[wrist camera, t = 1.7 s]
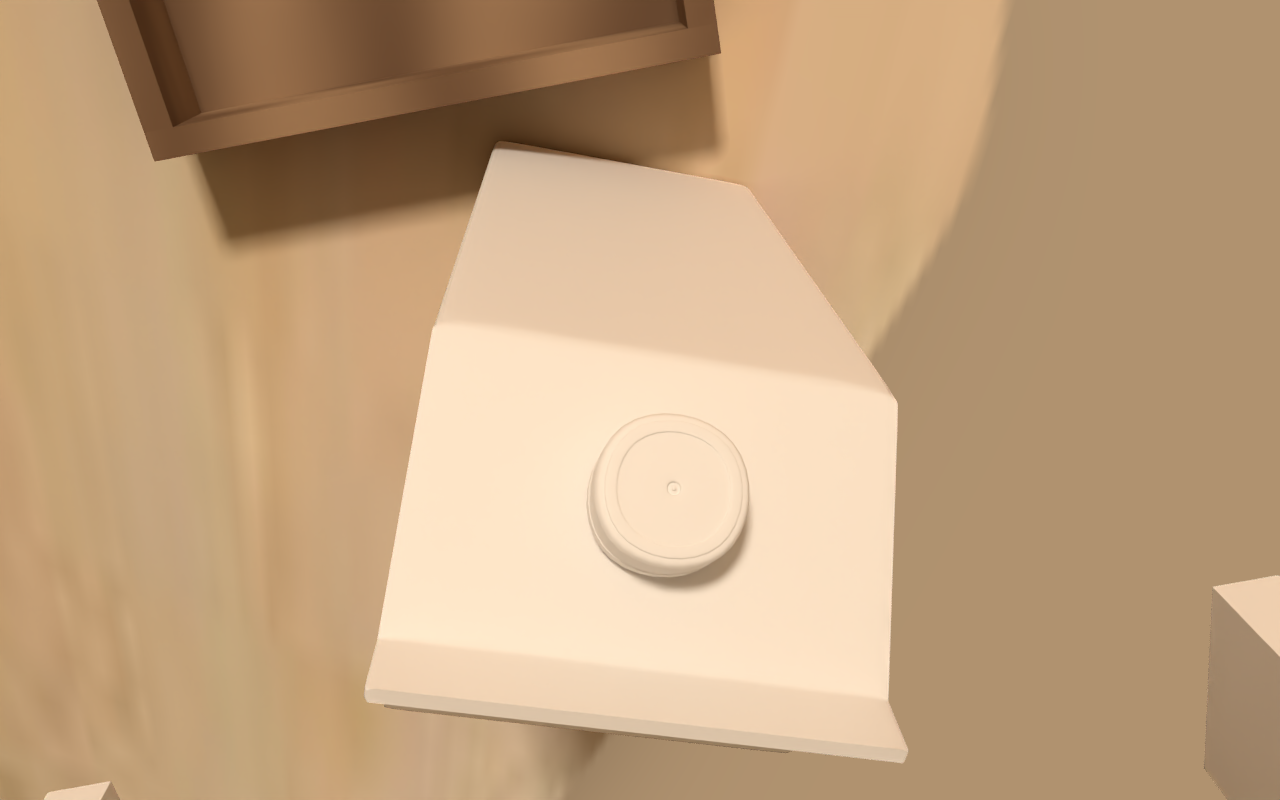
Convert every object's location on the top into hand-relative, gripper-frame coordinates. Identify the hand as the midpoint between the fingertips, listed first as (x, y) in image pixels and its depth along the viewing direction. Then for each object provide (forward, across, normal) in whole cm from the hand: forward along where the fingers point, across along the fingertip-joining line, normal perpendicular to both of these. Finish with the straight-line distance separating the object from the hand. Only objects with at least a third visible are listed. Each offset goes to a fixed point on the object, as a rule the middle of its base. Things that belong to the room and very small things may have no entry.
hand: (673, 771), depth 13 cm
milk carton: (+20, 0, 0) cm, 20 cm away
